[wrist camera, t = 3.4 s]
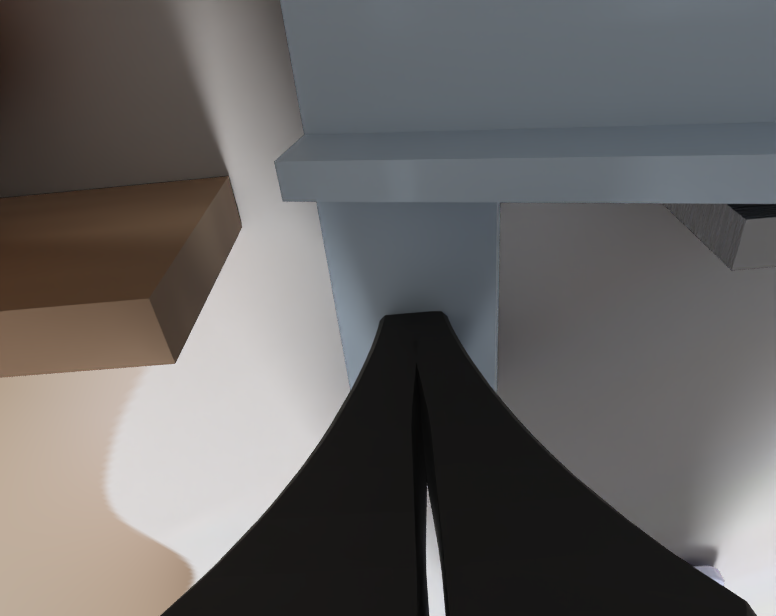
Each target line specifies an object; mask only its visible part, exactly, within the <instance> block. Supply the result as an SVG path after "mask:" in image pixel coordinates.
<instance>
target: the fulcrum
mask: <svg viewBox="0 0 776 616" xmlns="http://www.w3.org/2000/svg"><path fill="white" fill-rule="evenodd" d="M662 204H663V205H664V206H665V207H667V208H668V209H669V210H670V211H671V212H672V213H673V214H674V215H675V216H676V217H677V218H678V219H679V220H680V221H681V222H682V223H683V224H684V225H685V226H686V227H687V228H688V229H689V230H690V231H691V232H692V233H693V234H694V235H695V236H696V237H698V238H699V239H700V240H701V241H702V242H703V243H704V244H705V245H706V246H707V247H708V248H709V249H710V250H711V251H712V252H713V253H714V254H715V255H716V256H717V257H718V258H719V259H720V260H721V261H722V262H723V263H724V264H725V265H726V266H727V267H728V268H730V269H731V270H744V269H755V268H767V267H776V204H700V203H662Z"/></svg>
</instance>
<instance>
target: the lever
mask: <svg viewBox="0 0 776 616" xmlns="http://www.w3.org/2000/svg"><path fill="white" fill-rule="evenodd" d="M280 4H281V9H282V15H283V20H284V26H285V31H286V37H287V42H288V48H289V53H290V59H291V64H292V70H293V75H294V81H295V86H296V92H297V97H298V103H299V108H300V114H301V119H302V125H303V131H304V135H303V136H302V137H301V138H300V139H299V140H298V141H297V142H296V143H294V144H293V145H292V146H291V147H290V148H289V149H288V150H287V151H286V152H284V153H283V154H282V155H281V156H280V157H279V158H278V159H277V160H275V161H274V163H275V167H276V172H277V177H278V181H279V186H280V190H281V195H282V200H283V201H287V202H317V208H318V213H319V219H320V224H321V230H322V235H323V241H324V247H325V252H326V258H327V263H328V269H329V274H330V280H331V285H332V291H333V296H334V302H335V307H336V313H337V318H338V324H339V329H340V335H341V340H342V346H343V351H344V357H345V362H346V368H347V374H348V379H349V385H350V390H351V389H352V387H353V385H354V383H355V381H356V379H357V377H358V375H359V373H360V371H361V369H362V366H363V364H364V362H365V360H366V358H367V355H368V353H369V351H370V348H371V346H372V343H373V341H374V338H375V335H376V332H377V329H378V325H379V321H380V320H381V319H382V318H383V317H384V316H385V315H392V314H405V313H417V312H429V311H442V312H443V313H444V314H445V315H447V316H448V319H449V321H450V323H451V325H452V327H453V329H454V331H455V333H456V335H457V337H458V339H459V340H460V342H461V344H462V345H463V347H464V348H465V350H466V352H467V353H468V355H469V356H470V358H471V359H472V361H473V362H474V364H475V365H476V367H477V368H478V369H479V371H480V372H481V373H482V375H483V376H484V378H485V379H486V380H487V382H488V383H489V385H490V386H491V387H492V388H493V390H494V391H495V392H496V394H497V361H498V302H499V244H500V203H700V204H776V0H280Z"/></svg>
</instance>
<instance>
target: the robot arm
mask: <svg viewBox="0 0 776 616" xmlns="http://www.w3.org/2000/svg"><path fill="white" fill-rule="evenodd" d="M427 486H428V491H429V497H430V503H431V508H432V514H433V519H434V525H435V531H436V536H437V542H438V548H439V555H440V562H441V570H442V579H443V591H444V602H445V613H446V616H757V615H756V614H755V612H754V611H753V610H752V608H751V607H750V605H749V604H748V603H747V602H746V601H745V600H744V599H742V598H741V597H739V596H737V595H736V594H734V593H733V592H731V591H730V590H728V589H727V588H725V587H724V579H723V577H722V575H721V573H720V571H719V570H718V569H717V568H715V567H712V566H692V565H690V564H689V563H687V562H686V561H684V560H682V559H681V558H679V557H678V556H676V555H675V554H673V553H672V552H671V551H669V550H668V549H666V548H665V547H664V546H662V545H661V544H660V543H658V542H657V541H656V540H654V539H653V538H652V537H650V536H649V535H647V534H646V533H645V532H643V531H642V530H641V529H639V528H638V527H637V526H635V525H634V524H633V523H631V522H630V521H629V520H627V519H626V518H625V517H624V516H622V515H621V514H620V513H619V512H618V511H616V510H615V509H614V508H613V507H612V506H610V505H609V504H608V503H607V502H606V501H604V500H603V499H602V498H601V497H600V496H598V495H597V494H596V493H595V492H593V491H592V490H591V489H590V488H589V487H587V486H586V485H585V484H584V483H583V482H581V481H580V480H579V479H578V478H577V477H576V476H574V475H573V474H572V473H571V472H570V471H569V470H568V469H567V468H566V467H565V466H564V465H563V464H562V463H560V462H559V461H558V460H557V459H556V458H555V457H554V456H553V455H552V454H551V453H550V452H549V451H548V450H547V449H546V448H545V447H544V446H543V445H542V444H541V443H540V442H539V441H538V440H537V439H536V438H535V437H534V436H533V435H532V434H531V433H530V432H529V431H528V430H527V429H526V427H525V426H524V425H523V424H522V423H521V422H520V421H519V420H518V419H517V417H516V416H515V415H514V414H513V413H512V412H511V410H510V409H509V408H508V407H507V406H506V404H505V403H504V402H503V401H502V400H501V399H500V397H499V396H498V395H497V394H496V392H495V391H494V390H493V388H492V387H491V386H490V385H489V383H488V382H487V380H486V379H485V378H484V376H483V375H482V373H481V372H480V371H479V369H478V368H477V367H476V365H475V364H474V362H473V361H472V359H471V358H470V356H469V355H468V353H467V352H466V350H465V348H464V347H463V345H462V344H461V342H460V340H459V339H458V337H457V335H456V333H455V331H454V329H453V327H452V325H451V323H450V321H449V319H448V316H447V315H445V314H444V313H443V312H442V311H429V312H417V313H405V314H392V315H385V316H384V317H383V318H382V319H381V320H380V321H379V325H378V329H377V332H376V335H375V338H374V341H373V343H372V346H371V348H370V351H369V353H368V355H367V358H366V360H365V362H364V364H363V366H362V369H361V371H360V373H359V375H358V377H357V379H356V381H355V383H354V385H353V387H352V389H351V391H350V393H349V394H348V396H347V398H346V400H345V401H344V403H343V405H342V406H341V408H340V410H339V412H338V413H337V415H336V417H335V418H334V420H333V422H332V424H331V425H330V427H329V428H328V430H327V431H326V433H325V434H324V436H323V438H322V439H321V441H320V442H319V444H318V445H317V446H316V448H315V449H314V451H313V452H312V454H311V455H310V456H309V458H308V459H307V460H306V462H305V463H304V465H303V466H302V467H301V469H300V470H299V471H298V473H297V474H296V475H295V476H294V478H293V479H292V480H291V481H290V483H289V484H288V485H287V486H286V488H285V489H284V490H283V491H282V493H281V494H280V495H279V496H278V498H277V499H276V500H275V501H274V502H273V504H272V505H271V506H270V507H269V508H268V509H267V511H266V512H265V513H264V514H263V515H262V516H261V517H260V518H259V520H258V521H257V522H256V523H255V524H254V525H253V526H252V527H251V528H250V529H249V530H248V531H247V532H246V533H245V534H244V535H243V536H242V537H241V538H240V540H239V541H238V542H237V543H236V544H235V545H234V546H233V547H232V548H231V549H230V550H229V551H228V552H227V553H226V554H225V555H224V556H223V557H222V558H221V560H220V561H219V562H218V563H217V564H216V565H215V566H214V567H213V568H212V569H210V570H209V571H208V572H207V573H206V574H205V575H204V576H203V577H202V578H201V579H200V580H199V581H198V582H197V583H196V584H195V585H193V586H192V587H191V588H190V589H189V590H188V591H187V592H186V593H185V594H184V595H182V596H181V597H180V598H179V599H178V600H177V601H176V602H175V603H174V604H173V605H171V606H170V607H169V608H168V609H167V610H166V611H165V612H164V613H163V614H162V615H160V616H429V605H428V591H427V576H426V509H427Z"/></svg>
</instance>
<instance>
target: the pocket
mask: <svg viewBox="0 0 776 616" xmlns="http://www.w3.org/2000/svg"><path fill="white" fill-rule="evenodd" d="M241 228H242V225H241V221H240V217H239V214H238V210H237V206H236V202H235V199H234V195H233V191H232V188H231V184H230V180H229V176H225V177H215V178H204V179H194V180H184V181H173V182H163V183H153V184H142V185H132V186H122V187H111V188H101V189H90V190H80V191H70V192H59V193H49V194H39V195H28V196H18V197H8V198H0V377H13V376H26V375H38V374H51V373H63V372H75V371H89V370H101V369H114V368H126V367H139V366H152V365H164V364H175V363H176V361H177V359H178V357H179V355H180V353H181V351H182V349H183V347H184V345H185V343H186V341H187V339H188V337H189V334H190V332H191V330H192V328H193V326H194V324H195V322H196V320H197V318H198V316H199V314H200V312H201V310H202V308H203V306H204V304H205V302H206V300H207V298H208V296H209V294H210V292H211V290H212V288H213V285H214V283H215V281H216V279H217V277H218V275H219V273H220V271H221V269H222V267H223V265H224V263H225V261H226V259H227V257H228V255H229V253H230V251H231V249H232V247H233V245H234V243H235V241H236V239H237V237H238V234H239V232H240V230H241Z"/></svg>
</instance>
